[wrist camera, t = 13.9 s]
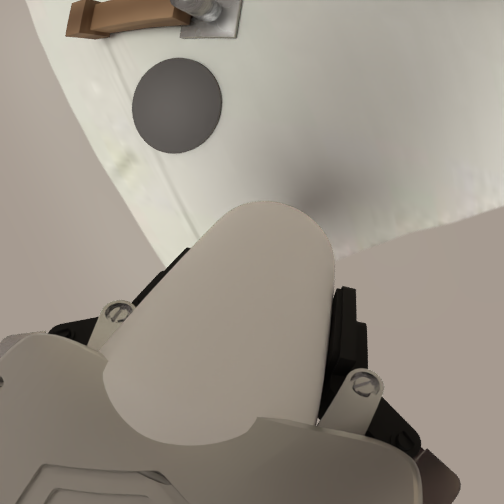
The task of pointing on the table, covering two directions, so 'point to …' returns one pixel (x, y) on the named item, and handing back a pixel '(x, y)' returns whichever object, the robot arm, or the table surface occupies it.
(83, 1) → the bar
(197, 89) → the pad
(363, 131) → the table surface
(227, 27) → the ball knob on plate
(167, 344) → the can
